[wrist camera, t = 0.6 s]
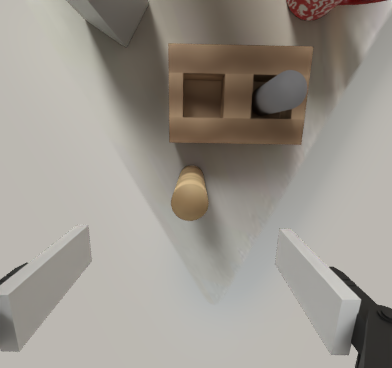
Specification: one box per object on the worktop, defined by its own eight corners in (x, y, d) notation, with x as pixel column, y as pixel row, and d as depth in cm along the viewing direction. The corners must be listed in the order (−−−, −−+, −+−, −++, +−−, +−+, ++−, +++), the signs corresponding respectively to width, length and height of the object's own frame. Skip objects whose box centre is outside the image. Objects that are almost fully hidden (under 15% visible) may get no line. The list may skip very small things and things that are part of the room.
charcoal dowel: (250, 86, 32) (272, 69, 23) (278, 87, 32) (309, 70, 23) (248, 115, 33) (268, 109, 24) (275, 115, 33) (304, 110, 24)
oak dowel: (179, 165, 37) (171, 184, 23) (203, 165, 37) (209, 185, 23) (179, 188, 38) (171, 220, 24) (203, 188, 38) (207, 221, 24)
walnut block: (173, 59, 33) (168, 43, 27) (292, 61, 33) (313, 46, 27) (173, 140, 36) (169, 142, 30) (283, 142, 36) (301, 144, 30)
